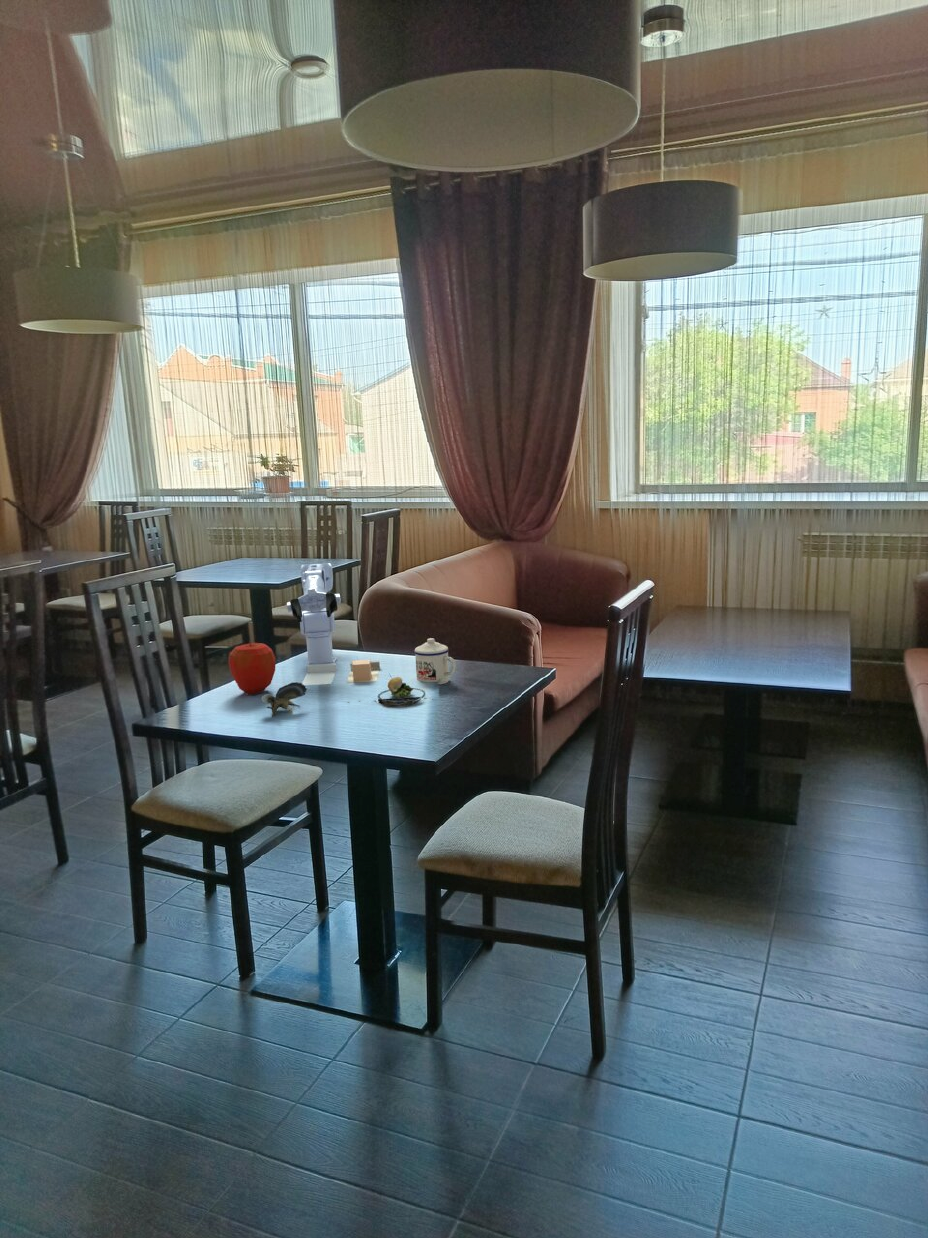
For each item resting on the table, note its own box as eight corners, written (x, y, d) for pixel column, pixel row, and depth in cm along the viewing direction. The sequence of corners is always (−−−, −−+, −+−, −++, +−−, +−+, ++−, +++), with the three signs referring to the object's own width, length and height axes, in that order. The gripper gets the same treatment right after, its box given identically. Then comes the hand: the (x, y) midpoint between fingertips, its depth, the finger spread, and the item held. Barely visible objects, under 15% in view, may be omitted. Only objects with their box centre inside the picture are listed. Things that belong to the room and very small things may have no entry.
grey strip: (308, 675, 243) (307, 664, 242) (337, 673, 243) (336, 663, 242) (301, 689, 229) (300, 678, 228) (331, 687, 229) (330, 676, 229)
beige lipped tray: (351, 672, 243) (350, 662, 242) (380, 671, 243) (379, 660, 243) (346, 686, 229) (345, 675, 229) (377, 684, 230) (376, 673, 229)
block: (354, 676, 235) (353, 660, 234) (371, 675, 235) (370, 659, 234) (353, 681, 230) (352, 664, 230) (370, 680, 231) (369, 663, 230)
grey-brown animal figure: (292, 714, 204) (314, 695, 212) (272, 688, 204) (295, 671, 212) (272, 728, 209) (295, 709, 217) (253, 703, 208) (276, 685, 216)
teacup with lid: (409, 683, 230) (406, 641, 228) (429, 675, 237) (427, 633, 235) (445, 689, 223) (443, 645, 221) (466, 680, 230) (463, 637, 228)
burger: (418, 708, 209) (417, 678, 208) (371, 707, 212) (369, 678, 210) (430, 694, 221) (428, 665, 219) (385, 693, 223) (383, 665, 222)
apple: (272, 698, 223) (267, 644, 220) (226, 700, 223) (220, 646, 220) (283, 685, 235) (278, 634, 232) (239, 686, 235) (233, 636, 232)
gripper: (285, 585, 241) (283, 607, 229) (337, 577, 242) (338, 598, 230) (290, 608, 244) (288, 631, 232) (341, 599, 245) (342, 621, 233)
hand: (313, 616), depth 231 cm, fingers open, 7 cm apart
